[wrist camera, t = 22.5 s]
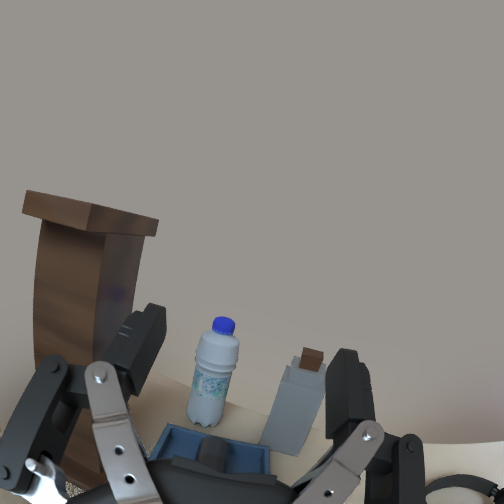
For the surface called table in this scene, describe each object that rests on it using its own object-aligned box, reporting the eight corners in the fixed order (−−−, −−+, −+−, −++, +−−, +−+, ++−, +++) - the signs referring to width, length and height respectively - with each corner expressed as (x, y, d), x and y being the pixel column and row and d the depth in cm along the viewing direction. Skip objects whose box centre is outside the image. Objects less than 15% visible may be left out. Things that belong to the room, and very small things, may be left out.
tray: (264, 595, 9) (273, 590, 9) (103, 559, 9) (99, 550, 9) (264, 459, 34) (269, 446, 34) (166, 436, 35) (167, 422, 35)
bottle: (201, 405, 47) (222, 309, 46) (229, 422, 43) (255, 323, 42) (176, 415, 41) (194, 311, 40) (204, 436, 37) (228, 328, 37)
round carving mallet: (212, 573, 11) (216, 562, 11) (166, 564, 11) (165, 552, 11) (227, 458, 32) (231, 438, 32) (197, 452, 32) (200, 432, 32)
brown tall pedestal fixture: (99, 498, 18) (102, 205, 17) (33, 459, 18) (20, 188, 17) (137, 438, 32) (167, 221, 31) (82, 413, 32) (97, 206, 31)
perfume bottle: (258, 446, 37) (289, 354, 37) (266, 426, 44) (293, 341, 43) (297, 456, 36) (335, 365, 35) (301, 435, 42) (333, 351, 42)
